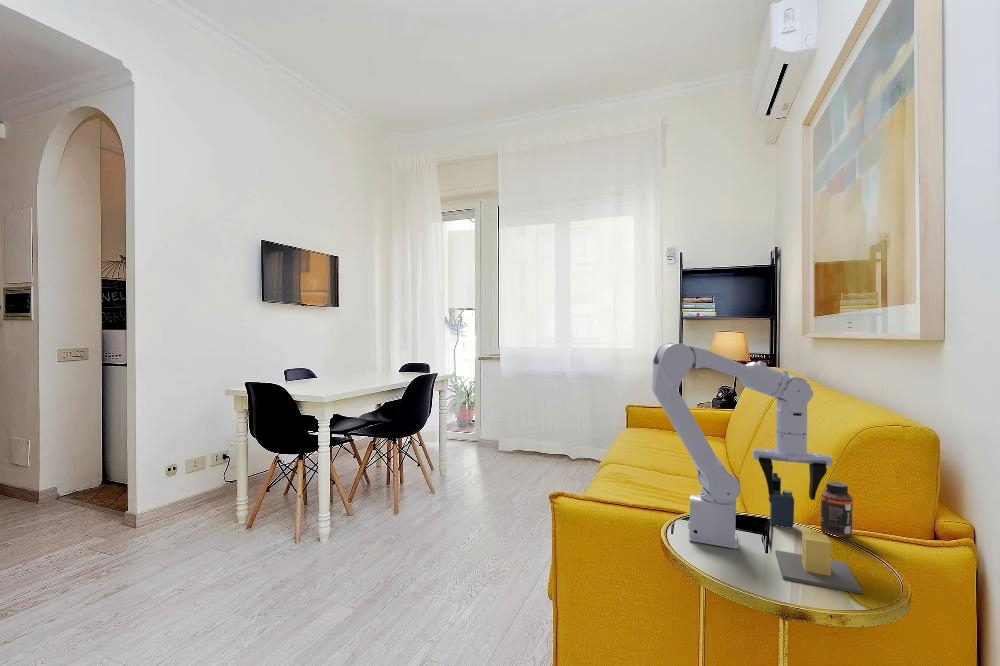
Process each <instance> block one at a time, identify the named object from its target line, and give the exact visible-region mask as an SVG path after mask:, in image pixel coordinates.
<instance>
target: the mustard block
mask: <svg viewBox="0 0 1000 666" xmlns="http://www.w3.org/2000/svg"><path fill="white" fill-rule="evenodd" d="M801 533H802V535H801V554H802V565H803V567H804V569H805V571H806V572H812V573H817V574H823V575H829V576H831V560H832V541H831V539H830V538H829V537H828V534H821V533H814V532H807V531H801Z"/></svg>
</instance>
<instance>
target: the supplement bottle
mask: <svg viewBox="0 0 1000 666" xmlns="http://www.w3.org/2000/svg"><path fill="white" fill-rule="evenodd" d="M825 487H826V489H825V490H823V491H822V492H821V494H820V495H821V496H820V530H821V532H823V533H824V532H826V533H829V534H832V535H836V536H839V537H838V538H841V537H842V538H843V539H844V538H845V539H846V538H850V537H852V535H853V534H852V533H853V505H854V502H853V496H851V494H849V490H848V489H849V488H848V484H846V483H843V482H838V481H827V482H826V486H825ZM826 533H825V534H826Z"/></svg>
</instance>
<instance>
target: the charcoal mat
mask: <svg viewBox="0 0 1000 666" xmlns="http://www.w3.org/2000/svg"><path fill="white" fill-rule="evenodd" d="M774 553H775V557H776V559H777V563H778V566H779V570H780V573H781V576H782V579H783V580H785V581H790V582H791V581H792V582H796V583H797V582H798V583H801V584H807V585H813V586H816V587H817V586H818V587H824V588H829V589H835V590H839V591H844V592H850V593H855V594H861V595H863V589H862V588H861V586H860V584H859V583H858V581H857V579H856V577H855V576H854V574H853V573H852V571H851V569H850V568H849V566H848V564H847V562H846V561H842V560H837V559H831V576H829V575H823V574H817V573H812V572H806V571H805V569H804V567H803V565H802V553H801V554H800V553H794V552H790V551H782V550H778V549H777V550H775V552H774Z"/></svg>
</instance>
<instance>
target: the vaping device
mask: <svg viewBox="0 0 1000 666" xmlns="http://www.w3.org/2000/svg"><path fill="white" fill-rule="evenodd" d="M772 483H773V495H769V494H768V502H769V503H770V505H769V512H770V513H769V523H770V522H771V524H772V525H771V524H770V525H771V526H774V525H778V526H777V527H780V526H783V527H782V528H787V527H792V528H793V526H794V524H795V523H794V522H795V498H794V496H793V492H792V491H791V490H788V489H783V490H781V487H782V485H781V484H782V478H781V477H779V473H776V472H773V475H772ZM781 491H782V493H781Z"/></svg>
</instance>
